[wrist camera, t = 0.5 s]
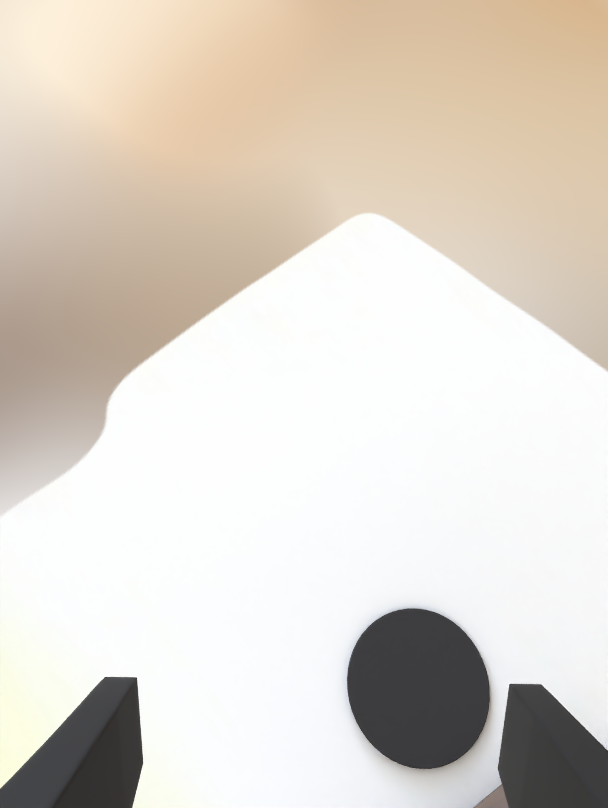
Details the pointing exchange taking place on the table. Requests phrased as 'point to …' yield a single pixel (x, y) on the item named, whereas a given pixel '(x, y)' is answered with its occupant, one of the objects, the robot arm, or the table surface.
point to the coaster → (418, 688)
